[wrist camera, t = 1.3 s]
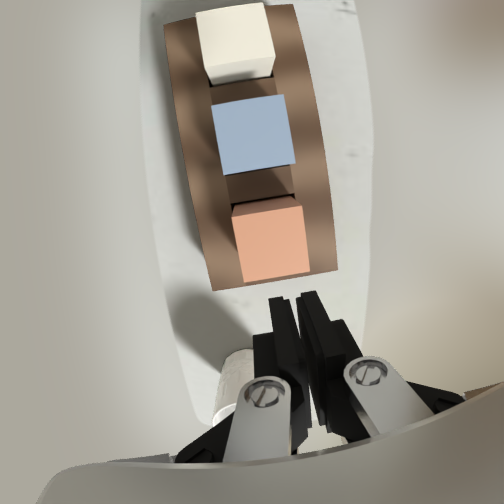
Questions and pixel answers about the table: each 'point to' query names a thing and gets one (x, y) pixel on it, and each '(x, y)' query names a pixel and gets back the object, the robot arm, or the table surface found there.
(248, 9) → the cream key
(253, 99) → the slate key
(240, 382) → the white cup
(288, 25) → the brown long flat block
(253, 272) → the peach block
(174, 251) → the table surface
